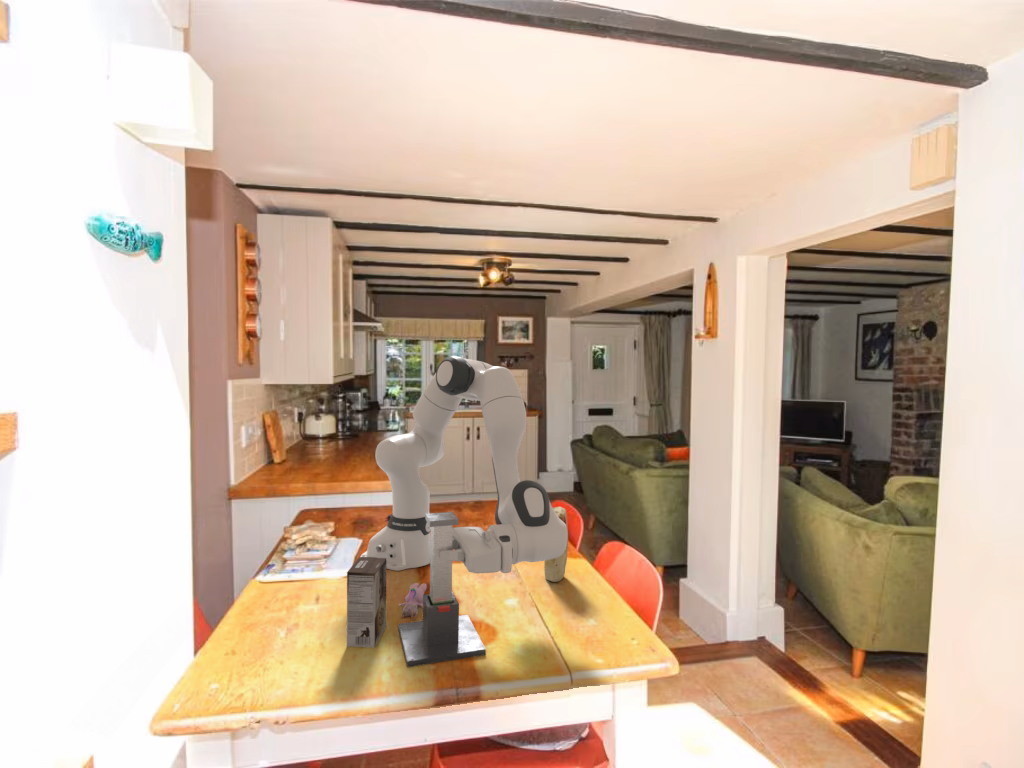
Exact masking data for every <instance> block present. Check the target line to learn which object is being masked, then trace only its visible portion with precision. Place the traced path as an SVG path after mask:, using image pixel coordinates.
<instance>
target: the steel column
mask: <svg viewBox="0 0 1024 768" xmlns="http://www.w3.org/2000/svg"><path fill="white" fill-rule="evenodd" d="M425 519H426V521H427V523H428V525H429V526H430V527H431V530H430V563H429V600H430V605H431V606H433V605H441V604H449V603H452V601H453V600H452V591H453V587H452V586H453V561H452V560H440V558H439V551H440V550H444V549H447V550H453V549H452V536H453V528H454V527H453V526H458V525H459V518H458V517H457V515H456V514H455V513H454V512H453V511H447V512H430V513H428V514H425Z"/></svg>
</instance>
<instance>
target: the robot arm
mask: <svg viewBox="0 0 1024 768" xmlns="http://www.w3.org/2000/svg"><path fill="white" fill-rule="evenodd" d="M424 388H425V389H424V390H423V392H422V393H421V395H420V397H419V399H418V401H417V402H416V404H415V406H414V408H413V410H412V417H413V420H414V422H415V424H414V426H413V428H412V430H411V431H410V432H408V433H402V434H395V435H392V436H390V437H389V436H388V437H387V438H385V439H383V440H381V441H380V442H379V443H378V444H377V446H376V448H375V455H374V456H375V462H376V464H377V466H378V468H380V469H381V470H382V471H383V472H384V473H385V474H386V476H387V478H388V480H389V482H390V483H389V484H390V487H391V491H392V512H391V513H390V514H388V516H387V517H385V518H384V523H386V522H387V524H386V526H385V527H383V528H382V529H381V530H379V531H378V532H376V534H373V536H372V537H371V538H370V540H369V541H368V545H367V550H366V551H365V552H363V553H362V554H361V555H360V556H359V557H376V558H386V570H392V571H394V572H395V571H396V572H399V571H402V570H403V571H404V570H406V569H414V568H415V569H416V568H419V567H423V566H427V565H430V538H431V527H430V526H429V525H428V523H427V521H426V519H425V514H428V513H431V512H430V499H431V498H430V494H431V493H430V489H429V486H428V485H427V484H426V483H425V482H423V480H422V478H421V473H420V468H423V467H428V466H431V465H433V464H435V463H437V462H438V461H439V460H441V459H442V458H443V457H444V455H445V453H446V442H445V440H444V436H445V432H446V430H447V427H448V426H449V424H450V422H451V420H452V418H453V417H454V415H455V414H456V413H455V412H456V411H457V409H458V407H459V405H460V404H461V402H462V401H463V399H465V400H468V401H478V402H480V403H479V404H480V408H481V413H482V419H483V423H484V426H485V430H486V434H487V439H488V443H489V445H488V446H489V448H490V454H491V462H492V468H493V474H494V475H493V476H494V481H495V487H496V492H497V493H496V494H497V501H496V502H497V503H496V508H495V513H494V521H495V524H490V525H489V526H488V527H487V530H484V529H483V528H482V527H480V526H456V527H453V536H452V550H447V549H444V550H440V551H439V558H440V560H452V562H462V564H463V565H464V567H465V568H466V570H467V571H468V572H469V573H471V574H491V573H492V574H493V573H498V572H501V574H502V573H503V574H508V573H511V572H512V568H513V565H517V564H518V563H522V562H527V563H536V562H537V563H538V562H544V561H545V560H550V559H554V558H557V557H559V556H561V555H562V554H563V553H564V551H565V550H566V548H567V543H568V544H569V530H568V529H569V528H568V529H567V527H568V525H567V526H566V524H565V523H564V522H563V521H562V520H561V519H560V518H559V517H558V516H557V514H556V513H555V511H554V510H553V508H554V507H553V506H552V503H551V501H550V496H549V494H548V491H547V490H546V489H545V487H544V486H543V485H542V484H540V483H538V482H537V481H533V480H527V479H526V480H522V481H521V478H520V471H519V466H518V457H519V456H518V455H519V450H520V446H521V443H522V440H523V439H524V438H523V437H524V434H525V433H526V431H527V422H528V421H527V409H526V406H525V402H524V399H523V395H522V392H521V389H520V387H519V385H518V381H517V380H516V377H515V376H514V374H513V372H512V371H511V370H510V369H509V368H508V367H504V366H499V365H498V366H497V365H491V364H489V363H487V362H484V361H481V360H475V359H470V358H464V357H462V356H454V355H453V356H446V357H445V358H443V359H442V360H441V362H440V363H439V364H438V367H437V368H436V372H435V374H434V375H433V376H432V378H431V379H430V380H429V382H428V383H427V385H426V387H424Z"/></svg>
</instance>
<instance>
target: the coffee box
mask: <svg viewBox="0 0 1024 768" xmlns="http://www.w3.org/2000/svg"><path fill="white" fill-rule="evenodd" d="M386 628H387V568H386V558H376V557H360V556H359V557H358V558H357V559H356V561H355V562H354V563H353V565H352V566H351V567H350V568H349V569H348V571H347V573H346V647H349V648H350V647H353V648H372V649H373V648H376V646H377V645H378V643H379V641H380V639H381V637H382V635H383V633H384V631H385V630H386Z"/></svg>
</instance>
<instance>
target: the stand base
mask: <svg viewBox="0 0 1024 768" xmlns="http://www.w3.org/2000/svg"><path fill="white" fill-rule="evenodd" d="M429 594H430V593H429ZM429 594H428V593H427V594H424V595H423V603H422V604H423V607H422V620H417V621H411V622H401V623H398V626H397V627H398V630H397V631H398V632H399V638H400V642H401V646H402V650H403V654H404V655H403V656H404V658H405V664H406V667H407V668H411V667H417V666H423V665H424V666H425V665H429V664H436V663H442V662H443V663H444V662H448V661H455V660H460V659H469V658H473V657H481V656H485V655H486V654H487V653H486V651H487V650H486V647H485V645H484V643H483V641H482V640H481V637H480V635H479V634H478V632H477V630H476V628H475V626H474V624H473V623H472V620H471V618H470V616H469V614H463V615H460V612H459V611H460V603H459V601H458V599H457V598H456V595H455V594H454V592H453V590H452V600H453V601H452V603H449V604H441V605H433V606H431V605H430V600H429Z"/></svg>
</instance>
